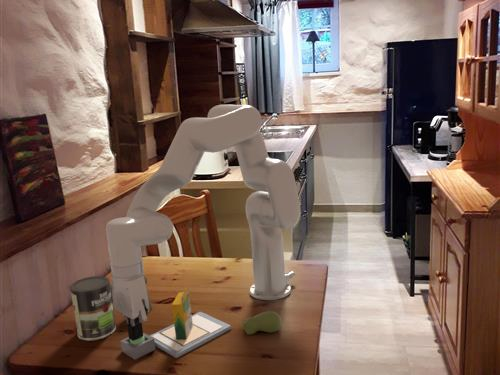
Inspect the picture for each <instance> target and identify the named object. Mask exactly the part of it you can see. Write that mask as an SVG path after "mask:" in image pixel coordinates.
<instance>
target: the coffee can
mask: <svg viewBox="0 0 500 375" xmlns="http://www.w3.org/2000/svg"><path fill="white" fill-rule="evenodd" d="M110 284H111V280H110V278H108V277H107V276H101V275H99V276H98V275H95V276H88V277H84V278H81V279H78V280H76V281H74V282H72V283H71V284H70V286H69V290H70V293H71V301H72V307H73V313H74V319H75V326H76V330H77V333H76V334H77V337H78V339H79V340H82V341H87V342H88V341H89V342H90V341H99V340H100V339H101V340H102V339H104V338H107V337H109V336H111V335H110V334H113V333H114V332H115V331H116V330H117V327H116V326H117V325H116V321H115V320H116V319H115V314H114V306H113V303H112V298H111V291H110Z"/></svg>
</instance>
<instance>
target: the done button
mask: <svg viewBox="0 0 500 375" xmlns="http://www.w3.org/2000/svg"><path fill="white" fill-rule="evenodd" d="M144 341H145V338H144V335H143V336H142V337H140V338H138V339H136V340H134V341H133V340H131V339H130V343H131V344H132V345H134V346H135V345H137V344H140V343H142V342H144Z"/></svg>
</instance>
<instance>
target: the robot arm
mask: <svg viewBox="0 0 500 375" xmlns="http://www.w3.org/2000/svg"><path fill="white" fill-rule="evenodd" d="M262 118H263V117H262V115H261V113H260V111H259V110H258V109H257V108H256V107H254V106H253V105H249V104H218V105H215V106H213V107H212V108H211V109H209V111H208V113H207V117H190V118H187V119H184V120H183V121H182V122H181V124H180V125H179V127H178V129H177V131H176V134H175V136H174V138H173V140H172V142H171V144H170V146H169V148H168V150H167V152H166V154H165V156H164V159H163V160H162V162H161V164H160V166H159V168H158V169H157V170H156V171H155V172H154V173H153V174H152V175H151V176H149V178H147V180H146V181H145V182H144V183H143V184H142V185H141V187H140V188H139V189H138V190H137V192H136V193H135V196H134V197H133V199H132V201H131V203H130V205H129V208H128V210H127V212H126V216H124V217H117V218H114V219H113V218H112V219H111V220H109V221H108V222H107V223H106V225H105V234H106V241H107V248H108V254H109V255H108V256H109V262H110V263H109V264H110V270H111V284H112V298H113V303H112V305H113V310H115V311H116V312H118V313H119V314H121V315H123V316H124V320H125V323H126V324H127V325H126V327H127V332H128V333H127V334H128V337H129V339H131V340H133V341H134V340H136V339H138V338H140V337H142V336H143V333H144V330H143V323H144V322H147V321H148V317H147V314H149V313H150V312H149V300H148V294H149V292H148V293H147V291H148V287H147V284H145V279H144V276H143V274H144V273H145V270H144V269H145V268H144V263H143V254H142V247H143V246H152V245H159V244H163V243H164V242H166V241H167V240H169V239H170V238H171V236H172V235H173V231H174V224H173V221H172V220H171V218H170V217H168V215H166V214H164V213H162V212H161V213H160V212H157V210H158V208H159V206H160V205H161V203H162V202H163V200H164V199H165V198H166V197H167V196H168V195H171V193H173V192H174V191H176V190H180V189H182V188H183V187H185V186H187V185H188V184H190V183H191V181H192V180H193V178H194V176H195V173H196V172H197V170H198V167H199V165H200V163H201V160H202V158H203V157H204V154H205V153H219V152H222V151H224V150H228V149H230V148H232V147H234V150H235V153H236V155H237V156H236V157H237V161H238V165H239V169H240V172H241V177H242V181H243V182H244V185H245V186H246V187H247V188H249V189H251V190H255V191H254V192H252V193H251V194H250V195H249V196H248V197H247V199H246V202H245V215H246V219H247V222H248V226H249V231H250V233H249V234H250V242H251V244H250V245H251V257H252V270H253V284H252V285H251V286H250V287H249V294H250V296H251V297H253V298H255V299H256V300H262V301H276V300H277V301H278V300H280V299H283V298H285V297H288V296H289V295H290V294H291V292H292V287H291V285H290V284H289V283H288V282H289V281H290V280H291V279H294V278H296V274H295V272H294V271H289V272H288V273H286V271H285V270H286V269H285V253H284V237H283V232H282V230H289V229H292V228H294V227H295V226H296V225H297V224H298V223H299V220H300V217H301V203H300V202H301V201H300V198H299V193H298V187H297V183H296V178H295V175H294V172H293V170H292V168H291V166H290V165H289V164H288V163H287V162H286V161H284V160H281V159H278V158H271V157H270V156H269V154H268V150H267V146H266V143H265V139H264V137H263V134H262V132H261V131H260V130H261V127H262V123H263V119H262ZM146 287H147V288H146Z"/></svg>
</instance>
